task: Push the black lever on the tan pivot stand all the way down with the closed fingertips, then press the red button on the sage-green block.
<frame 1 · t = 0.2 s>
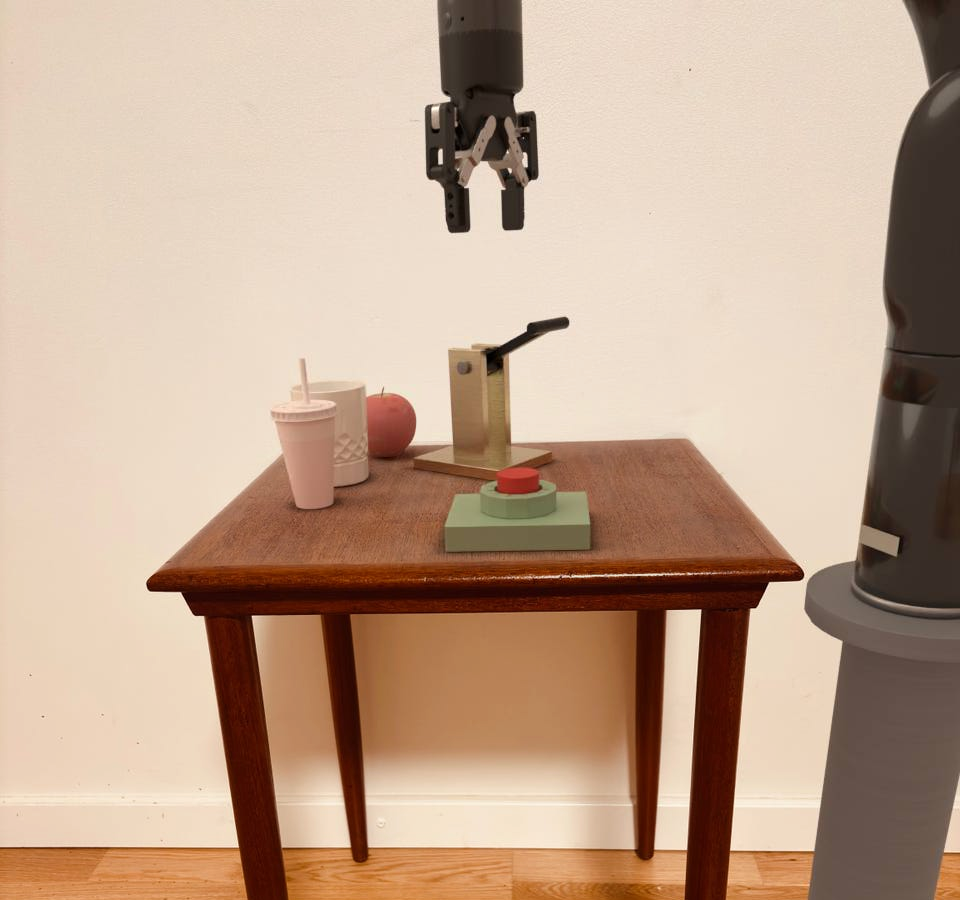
hand: (487, 231, 89), 24 cm above the table, tool pointing down, fingers open, 8 cm apart
tan pivot stand: (483, 464, 104), on the table
button block: (519, 532, 81), on the table
white cup: (337, 481, 101), on the table
button: (518, 482, 79), point 4 cm above the table, slide at 0.1 cm
apple: (387, 457, 110), on the table
lever: (509, 347, 96), point 13 cm above the table, hinge at 25.0°
smoothie: (314, 505, 92), on the table
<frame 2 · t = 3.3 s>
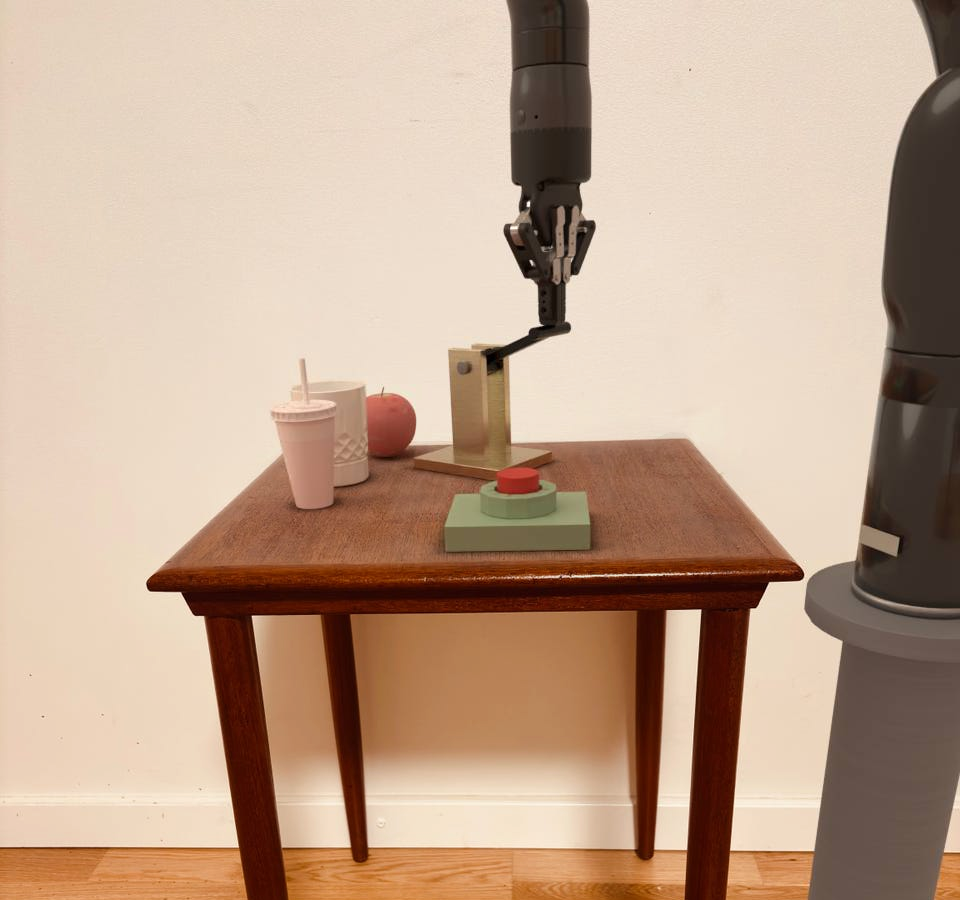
hand: (552, 324, 92), 15 cm above the table, tool pointing down, fingers closed
lever: (510, 349, 96), point 13 cm above the table, hinge at 22.0°, touching gripper
everything else where it was.
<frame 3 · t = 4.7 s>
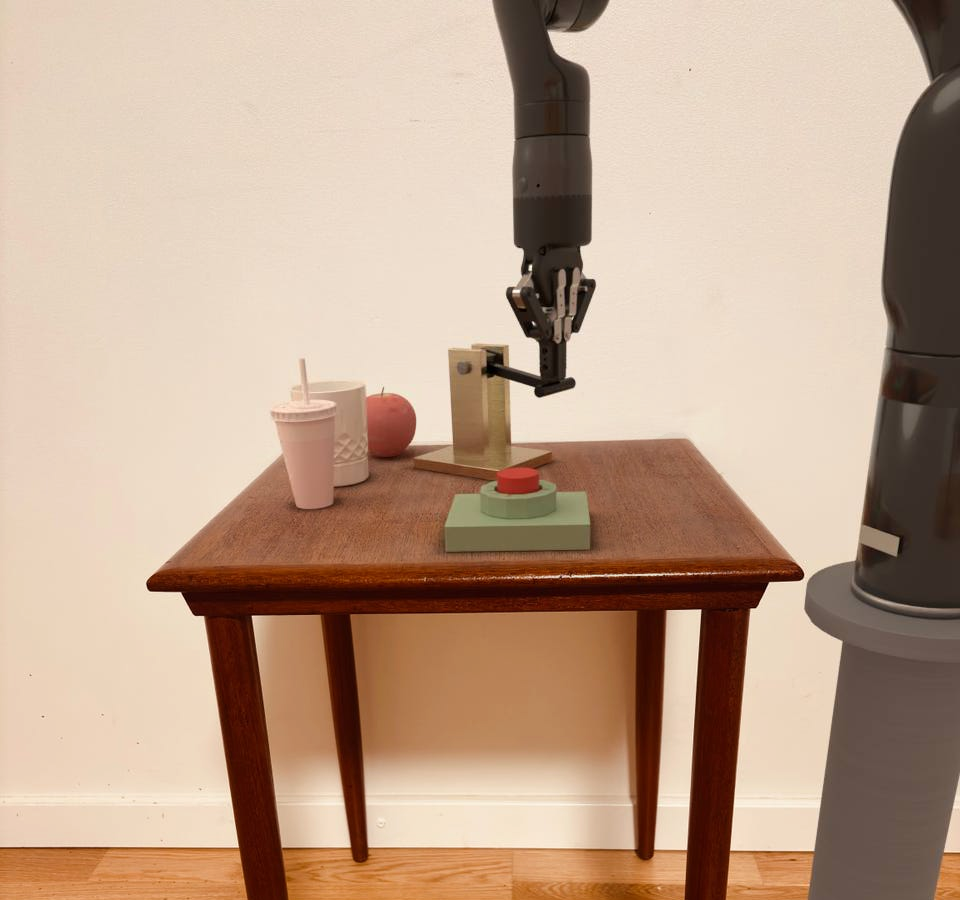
hand: (553, 380, 94), 10 cm above the table, tool pointing down, fingers closed
lever: (513, 374, 97), point 10 cm above the table, hinge at -10.3°, touching gripper
everything else where it was.
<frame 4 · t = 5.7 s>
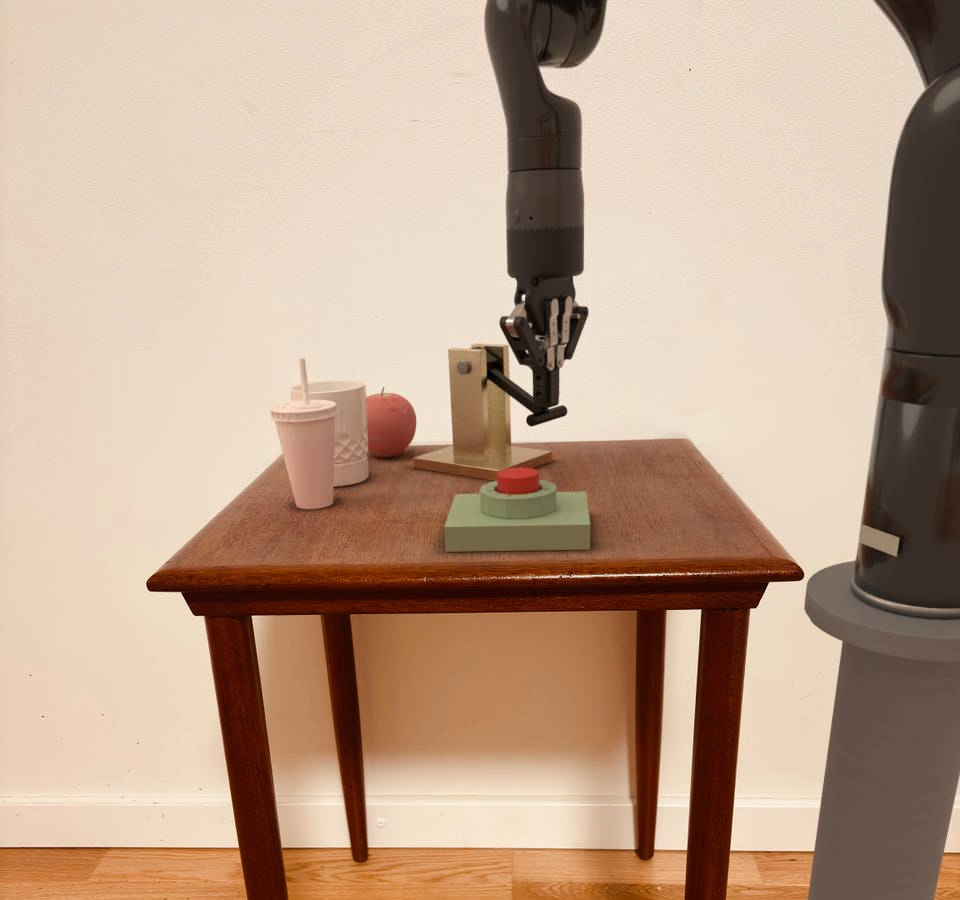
hand: (546, 406, 96), 7 cm above the table, tool pointing down, fingers closed
lever: (509, 387, 98), point 9 cm above the table, hinge at -28.3°, touching gripper
everything else where it was.
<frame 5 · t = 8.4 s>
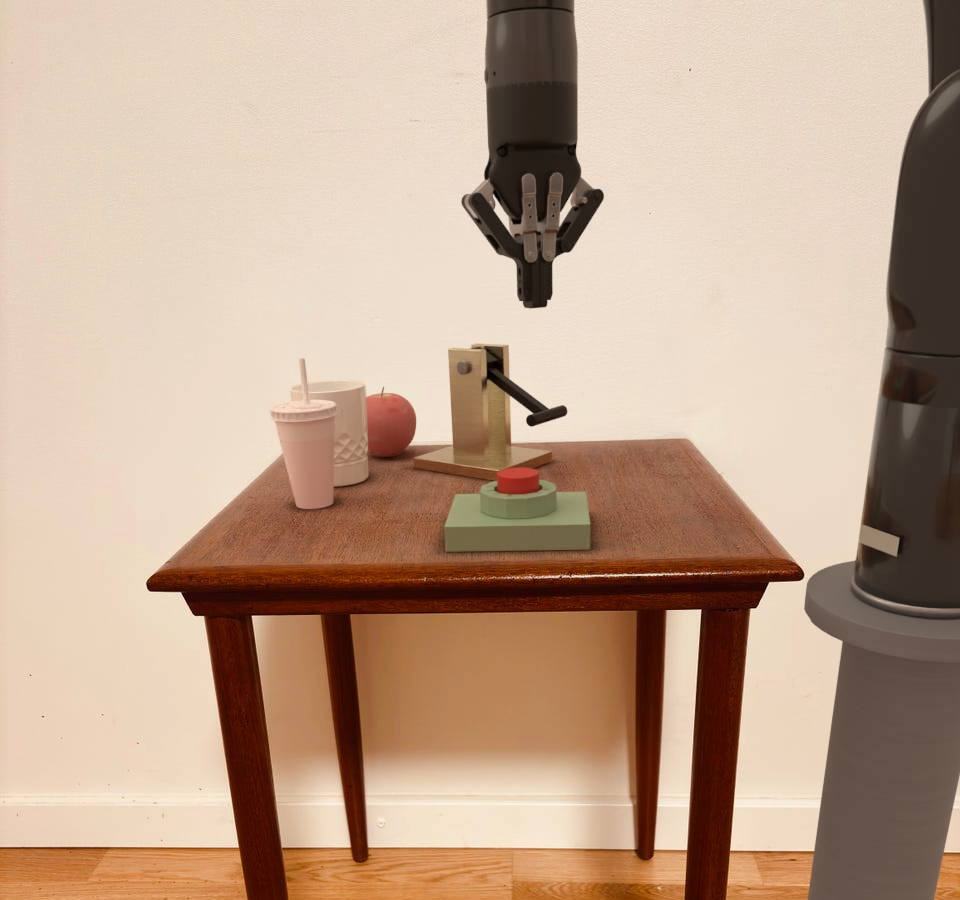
hand: (535, 307, 83), 18 cm above the table, tool pointing down, fingers closed
lever: (509, 387, 98), point 9 cm above the table, hinge at -28.3°
everything else where it was.
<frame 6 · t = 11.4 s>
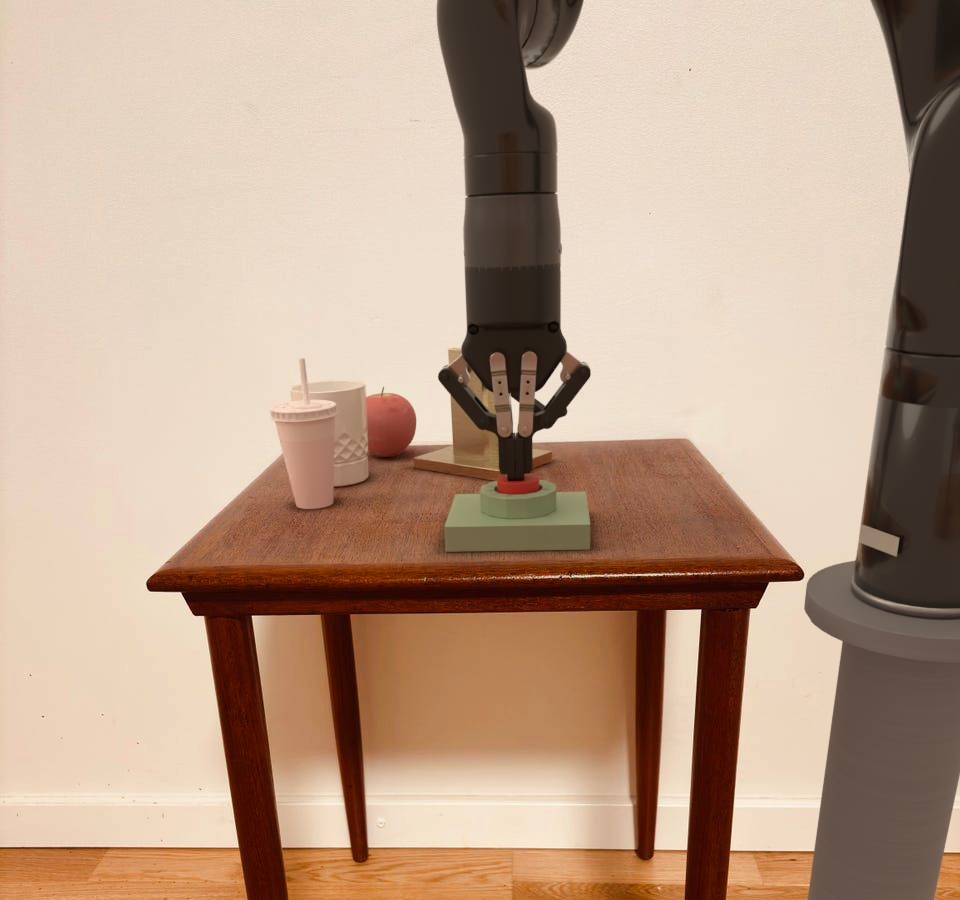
hand: (516, 478, 79), 5 cm above the table, tool pointing down, fingers closed
button: (518, 488, 79), point 4 cm above the table, slide at -0.4 cm, touching gripper
everything else where it was.
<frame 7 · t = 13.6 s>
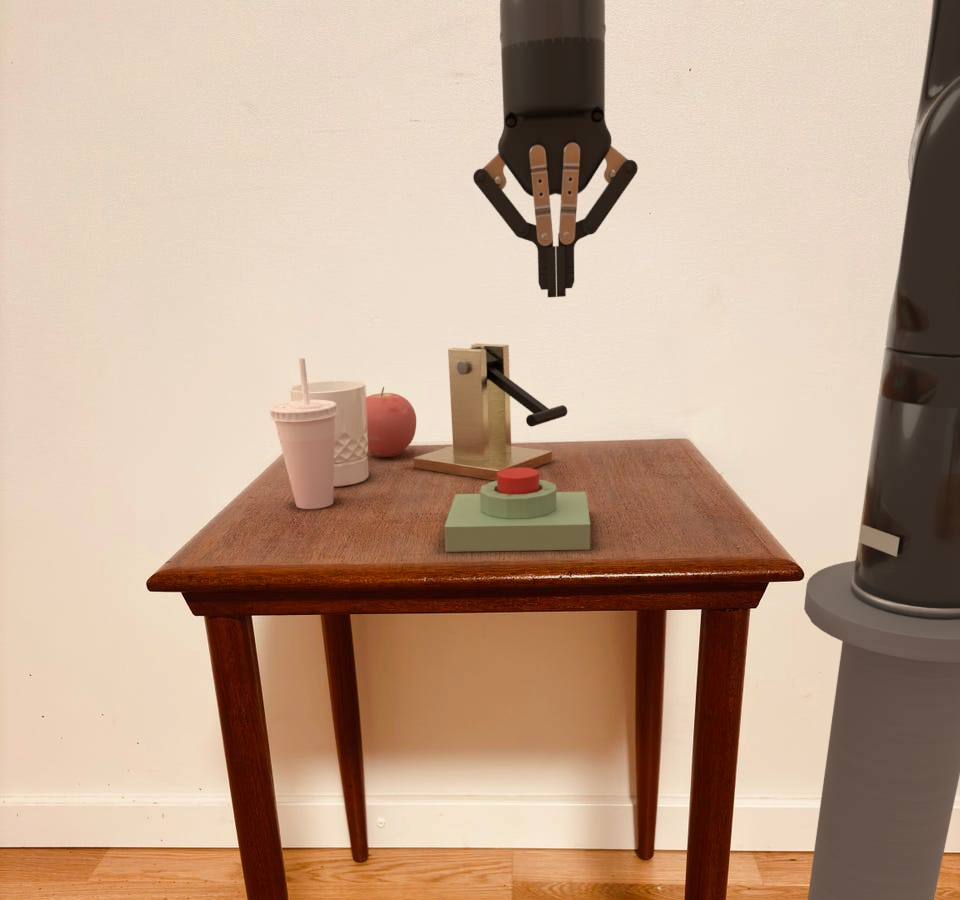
hand: (556, 296, 74), 19 cm above the table, tool pointing down, fingers closed
button: (518, 482, 79), point 4 cm above the table, slide at 0.1 cm
everything else where it was.
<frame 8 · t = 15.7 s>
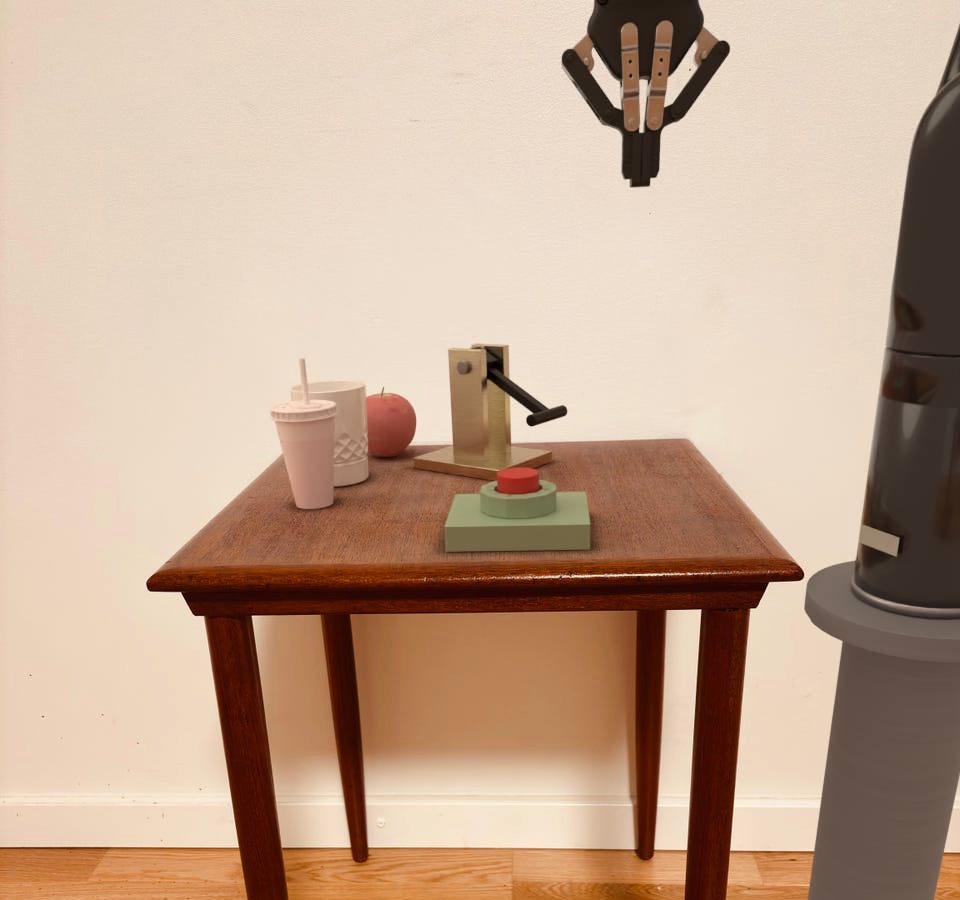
hand: (640, 186, 73), 27 cm above the table, tool pointing down, fingers closed
nothing on the table moved.
at the end: lever at -28° (first picture: +25°); button pushed in 1.1 cm at the most during the clip, back to where it started at the end; button slide at 0.1 cm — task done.
